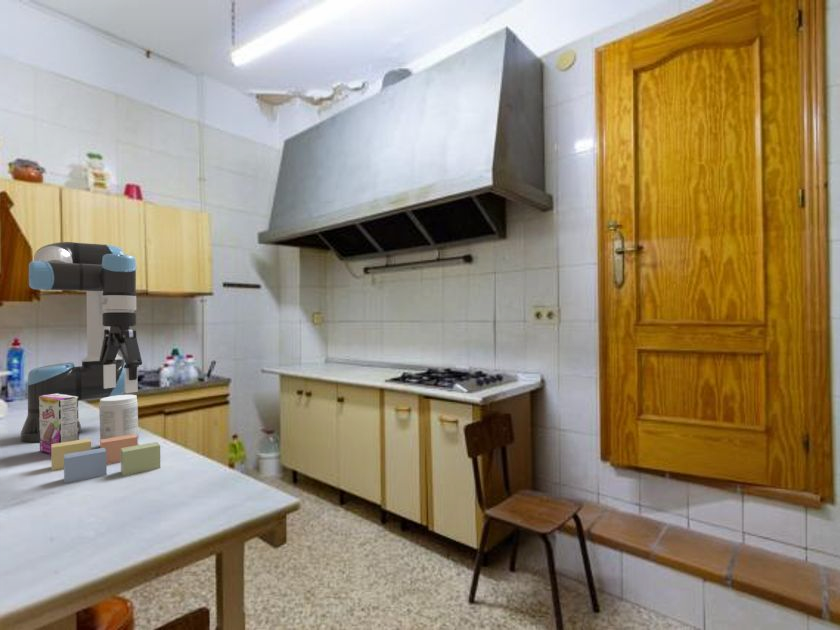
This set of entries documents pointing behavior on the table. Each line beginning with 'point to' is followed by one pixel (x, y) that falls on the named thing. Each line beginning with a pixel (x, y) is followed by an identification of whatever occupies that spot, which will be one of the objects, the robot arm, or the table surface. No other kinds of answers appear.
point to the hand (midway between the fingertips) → (120, 390)
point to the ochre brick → (67, 451)
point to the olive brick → (140, 458)
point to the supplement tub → (118, 416)
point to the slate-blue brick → (85, 465)
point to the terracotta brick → (117, 446)
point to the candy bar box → (57, 420)
